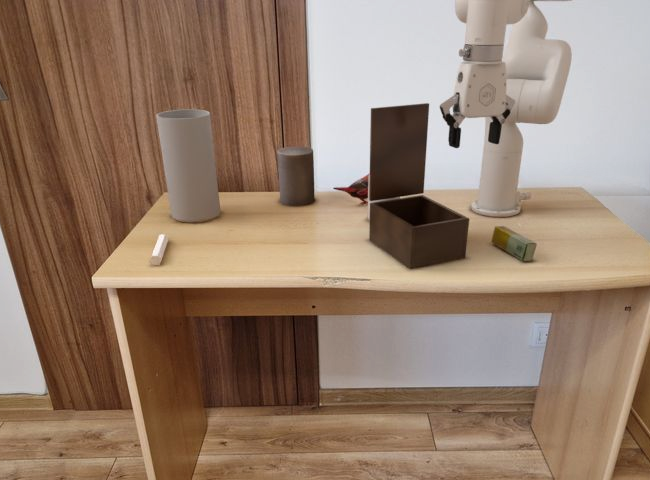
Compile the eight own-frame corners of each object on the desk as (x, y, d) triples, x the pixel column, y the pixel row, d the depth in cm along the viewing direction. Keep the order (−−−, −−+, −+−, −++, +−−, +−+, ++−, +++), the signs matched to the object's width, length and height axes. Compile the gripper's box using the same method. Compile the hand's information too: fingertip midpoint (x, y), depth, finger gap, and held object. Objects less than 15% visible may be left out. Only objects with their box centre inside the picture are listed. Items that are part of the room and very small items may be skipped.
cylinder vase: (187, 227, 153) (172, 121, 140) (163, 215, 161) (146, 114, 148) (230, 216, 160) (219, 113, 147) (205, 205, 168) (193, 107, 155)
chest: (465, 258, 134) (469, 218, 129) (410, 269, 129) (412, 228, 124) (420, 231, 149) (422, 194, 144) (369, 240, 144) (369, 202, 139)
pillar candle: (321, 199, 172) (320, 143, 164) (301, 208, 165) (299, 151, 157) (293, 194, 176) (290, 139, 169) (272, 203, 169) (268, 146, 161)
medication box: (533, 261, 132) (538, 243, 130) (523, 262, 131) (528, 244, 129) (499, 241, 142) (503, 224, 140) (490, 242, 140) (493, 225, 139)
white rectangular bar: (166, 241, 146) (158, 267, 133) (158, 238, 146) (148, 263, 132) (170, 232, 145) (162, 257, 132) (162, 228, 145) (153, 252, 131)
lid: (429, 103, 134) (416, 99, 138) (372, 108, 129) (360, 104, 133) (423, 193, 144) (411, 187, 148) (370, 201, 139) (359, 194, 143)
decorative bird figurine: (389, 201, 170) (391, 164, 165) (336, 213, 161) (336, 174, 156) (383, 198, 172) (384, 161, 167) (330, 210, 163) (329, 172, 158)
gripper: (455, 57, 115) (447, 152, 124) (531, 54, 121) (519, 145, 130) (434, 54, 121) (428, 145, 130) (508, 52, 127) (497, 138, 136)
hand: (473, 144), depth 130 cm, fingers open, 9 cm apart
